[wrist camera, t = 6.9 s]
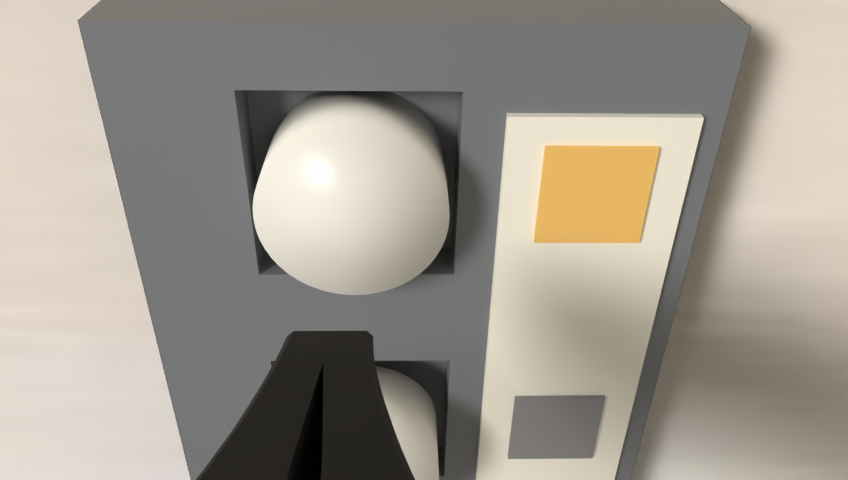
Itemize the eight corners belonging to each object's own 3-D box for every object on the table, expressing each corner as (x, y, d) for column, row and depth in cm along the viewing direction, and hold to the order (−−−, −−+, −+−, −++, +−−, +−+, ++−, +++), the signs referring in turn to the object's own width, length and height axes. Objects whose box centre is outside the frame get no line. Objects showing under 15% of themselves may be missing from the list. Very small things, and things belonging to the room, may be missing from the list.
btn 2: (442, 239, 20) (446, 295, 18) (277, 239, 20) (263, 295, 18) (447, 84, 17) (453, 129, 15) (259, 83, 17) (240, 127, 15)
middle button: (434, 466, 23) (437, 534, 21) (294, 468, 23) (284, 535, 21) (438, 364, 21) (441, 430, 19) (281, 365, 21) (269, 431, 19)
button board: (579, 584, 31) (591, 640, 29) (239, 589, 30) (228, 646, 28) (716, -1, 17) (756, 31, 15) (109, -8, 17) (71, 25, 15)
